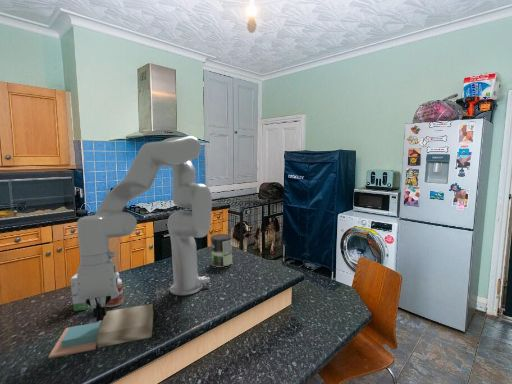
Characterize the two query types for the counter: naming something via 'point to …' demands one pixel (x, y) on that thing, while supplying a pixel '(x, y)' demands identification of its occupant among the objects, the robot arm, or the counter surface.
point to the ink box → (77, 305)
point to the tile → (81, 335)
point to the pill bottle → (118, 299)
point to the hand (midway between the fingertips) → (100, 318)
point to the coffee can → (221, 250)
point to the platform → (125, 325)
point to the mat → (61, 351)
